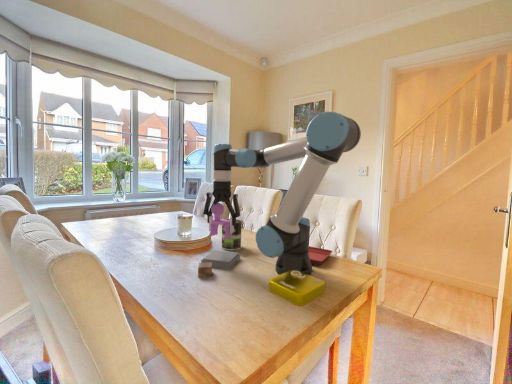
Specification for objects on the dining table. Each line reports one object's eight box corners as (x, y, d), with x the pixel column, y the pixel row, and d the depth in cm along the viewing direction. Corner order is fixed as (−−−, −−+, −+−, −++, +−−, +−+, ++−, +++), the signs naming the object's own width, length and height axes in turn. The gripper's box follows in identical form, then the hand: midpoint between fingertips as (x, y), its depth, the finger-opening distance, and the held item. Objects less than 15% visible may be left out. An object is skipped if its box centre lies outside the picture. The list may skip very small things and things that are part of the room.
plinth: (239, 258, 124) (239, 252, 123) (229, 269, 111) (229, 262, 111) (213, 255, 127) (213, 249, 127) (201, 265, 115) (201, 258, 114)
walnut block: (211, 271, 109) (211, 262, 108) (211, 277, 104) (211, 267, 103) (199, 272, 108) (199, 262, 108) (198, 277, 103) (198, 267, 103)
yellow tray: (266, 291, 94) (266, 278, 94) (293, 279, 105) (293, 267, 104) (300, 308, 83) (301, 293, 83) (327, 293, 94) (327, 280, 93)
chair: (223, 241, 112) (223, 205, 111) (206, 237, 117) (207, 203, 115) (234, 236, 119) (235, 203, 118) (218, 233, 124) (219, 201, 122)
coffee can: (237, 251, 134) (238, 223, 132) (218, 249, 136) (218, 222, 135) (243, 245, 144) (244, 219, 142) (225, 243, 146) (225, 218, 145)
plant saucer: (298, 249, 140) (298, 243, 140) (332, 256, 131) (333, 250, 131) (283, 260, 125) (283, 253, 124) (321, 268, 116) (322, 261, 115)
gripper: (248, 181, 116) (247, 231, 119) (203, 178, 122) (202, 227, 124) (243, 182, 109) (242, 236, 111) (195, 179, 114) (194, 231, 117)
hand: (221, 231), depth 118 cm, fingers closed on chair, 9 cm apart
